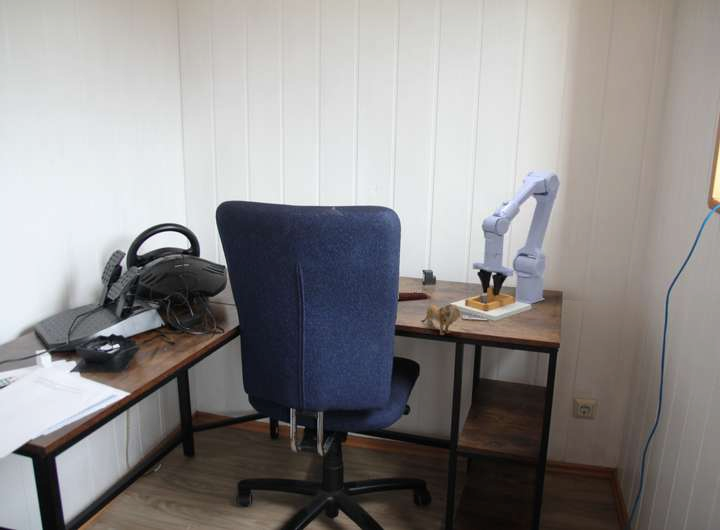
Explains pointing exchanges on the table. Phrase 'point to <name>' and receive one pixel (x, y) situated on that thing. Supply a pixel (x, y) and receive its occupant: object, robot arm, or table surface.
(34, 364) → the table surface
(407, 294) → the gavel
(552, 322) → the table surface
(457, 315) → the lion figurine
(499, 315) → the board
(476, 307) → the orange link
